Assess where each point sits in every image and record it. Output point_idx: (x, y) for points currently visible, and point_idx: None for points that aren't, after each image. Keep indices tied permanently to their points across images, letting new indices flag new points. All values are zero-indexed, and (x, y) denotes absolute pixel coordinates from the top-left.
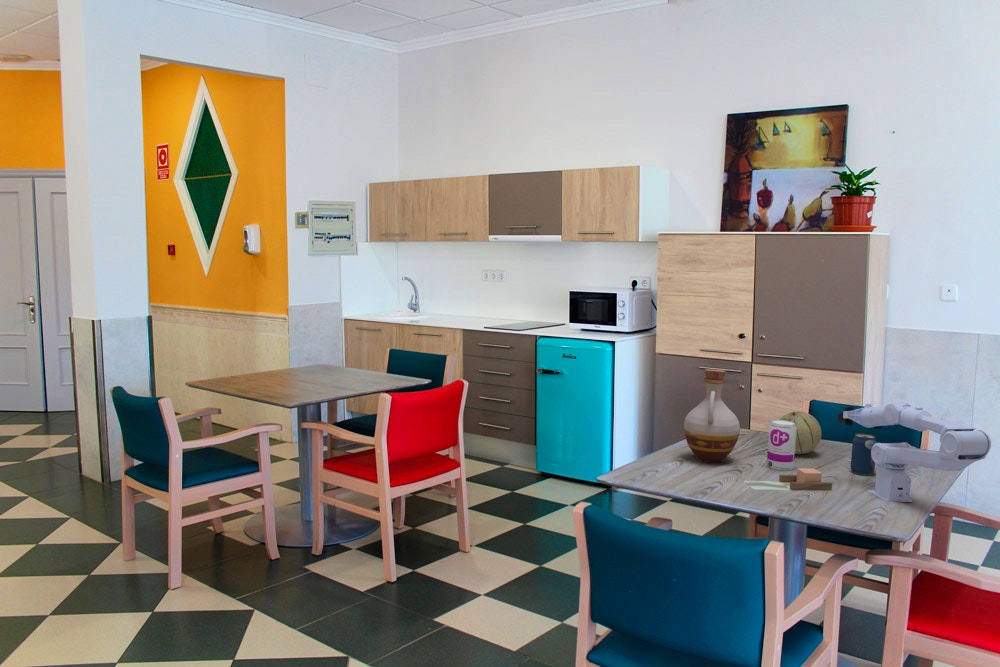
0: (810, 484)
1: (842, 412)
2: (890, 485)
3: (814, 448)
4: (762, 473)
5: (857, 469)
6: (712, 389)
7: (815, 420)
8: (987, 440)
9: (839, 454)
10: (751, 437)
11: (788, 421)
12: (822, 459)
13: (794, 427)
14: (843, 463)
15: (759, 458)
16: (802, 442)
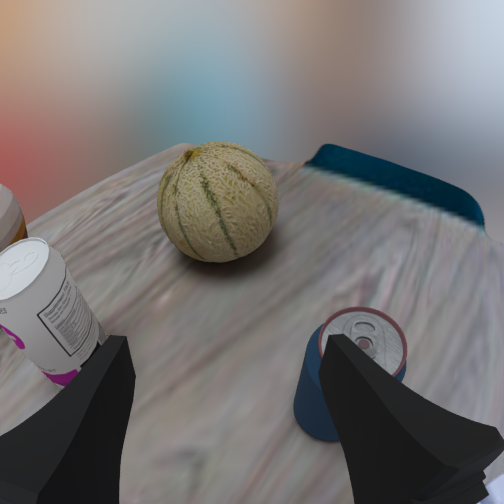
0: None
1: (62, 395)
2: None
3: (250, 252)
4: (19, 398)
5: (303, 428)
6: None
7: (249, 176)
8: None
9: (332, 247)
10: None
11: (47, 248)
12: (265, 287)
13: (23, 305)
14: (311, 317)
15: (100, 285)
16: (199, 249)
